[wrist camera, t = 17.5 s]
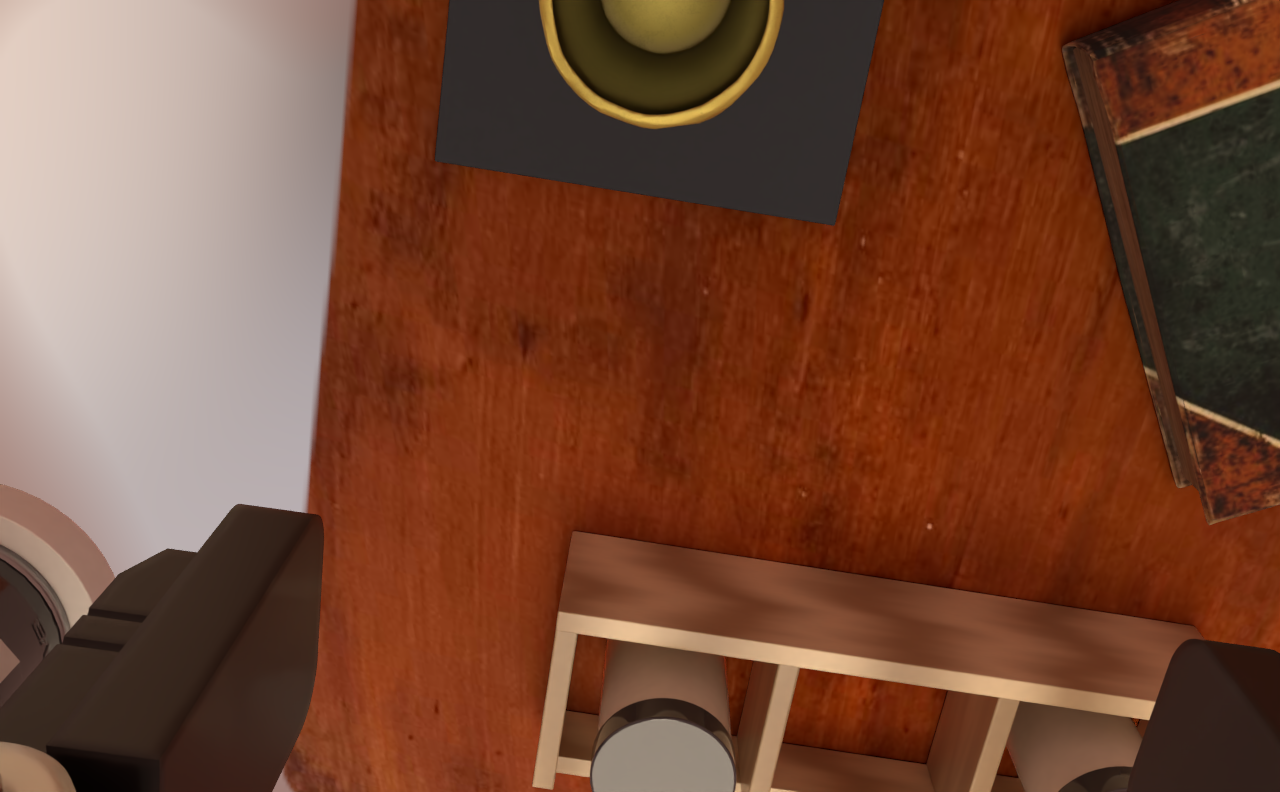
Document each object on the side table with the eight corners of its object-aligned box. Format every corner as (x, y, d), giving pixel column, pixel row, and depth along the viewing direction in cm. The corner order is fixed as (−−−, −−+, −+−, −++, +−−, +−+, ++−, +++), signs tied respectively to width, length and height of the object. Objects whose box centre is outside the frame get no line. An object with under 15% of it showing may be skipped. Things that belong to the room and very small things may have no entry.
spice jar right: (977, 745, 49) (1033, 893, 41) (1009, 643, 47) (1073, 778, 40) (1095, 763, 49) (1172, 914, 42) (1132, 662, 47) (1219, 800, 40)
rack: (543, 723, 49) (526, 822, 44) (572, 530, 46) (557, 610, 41) (1125, 810, 50) (1182, 918, 44) (1195, 625, 47) (1265, 718, 41)
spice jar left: (595, 688, 49) (580, 827, 41) (613, 583, 47) (600, 707, 39) (715, 706, 49) (722, 848, 41) (737, 602, 47) (749, 730, 39)
